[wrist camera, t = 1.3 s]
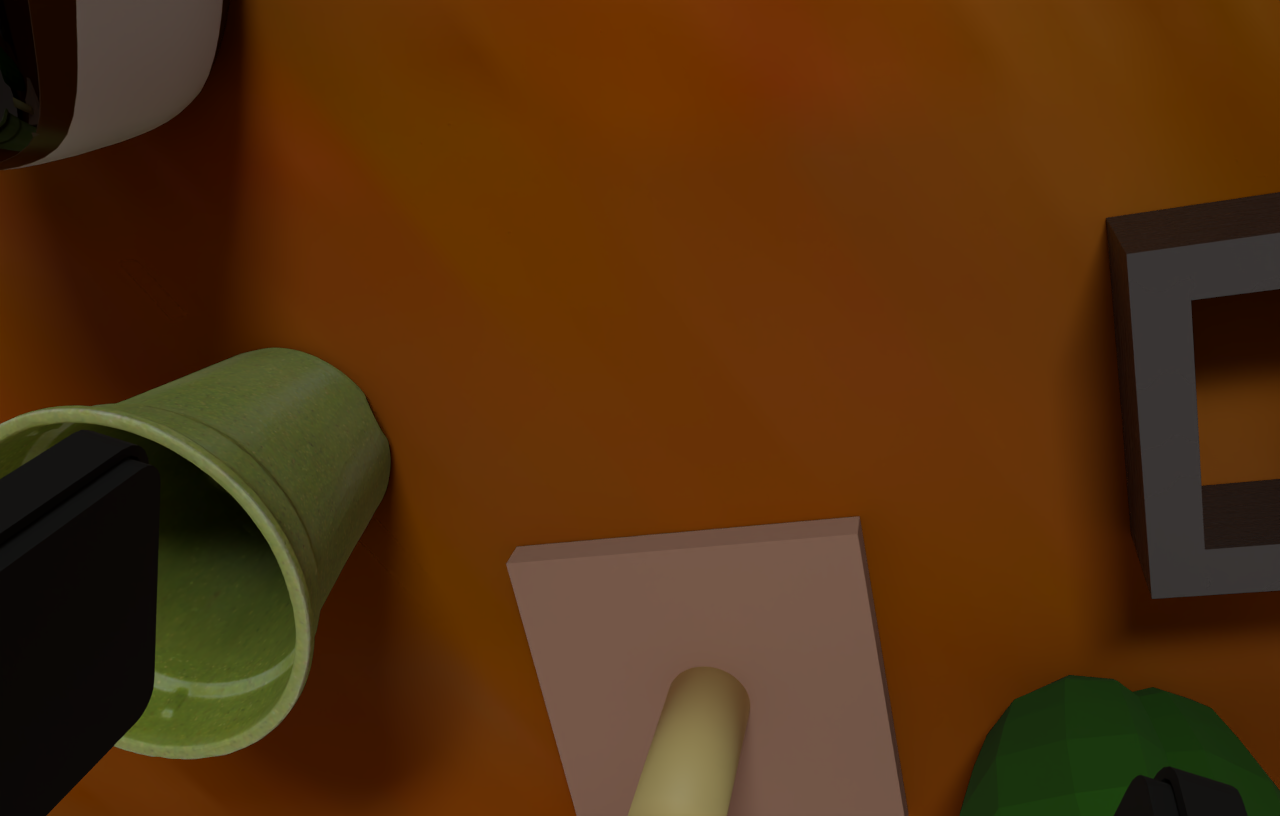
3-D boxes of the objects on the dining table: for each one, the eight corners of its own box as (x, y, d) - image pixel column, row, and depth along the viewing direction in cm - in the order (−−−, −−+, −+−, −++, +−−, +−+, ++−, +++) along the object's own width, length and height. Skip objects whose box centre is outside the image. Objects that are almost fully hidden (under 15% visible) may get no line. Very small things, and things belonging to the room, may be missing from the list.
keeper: (859, 516, 33) (844, 651, 27) (908, 813, 36) (904, 991, 30) (516, 546, 35) (435, 675, 29) (592, 820, 39) (532, 983, 33)
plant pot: (402, 627, 37) (264, 819, 30) (131, 507, 38) (-75, 666, 30) (485, 370, 33) (350, 515, 26) (180, 241, 34) (-45, 343, 26)
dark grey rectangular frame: (1414, 172, 26) (1474, 205, 24) (1411, 511, 29) (1464, 578, 26) (1106, 218, 28) (1126, 254, 25) (1131, 533, 31) (1151, 598, 28)
